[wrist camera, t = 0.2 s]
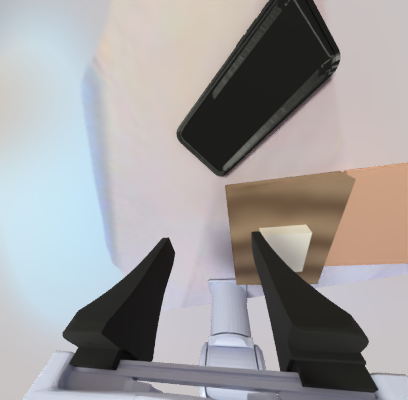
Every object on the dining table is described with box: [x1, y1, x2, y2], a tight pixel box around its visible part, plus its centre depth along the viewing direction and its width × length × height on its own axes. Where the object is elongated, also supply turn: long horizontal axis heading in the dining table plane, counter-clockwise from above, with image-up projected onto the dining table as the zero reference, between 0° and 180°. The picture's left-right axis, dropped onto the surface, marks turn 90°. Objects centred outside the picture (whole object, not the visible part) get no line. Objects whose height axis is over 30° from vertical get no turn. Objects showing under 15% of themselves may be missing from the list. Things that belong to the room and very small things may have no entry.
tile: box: [259, 225, 312, 272], centre depth 21 cm, size 8×6×2 cm
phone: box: [177, 0, 340, 176], centre depth 15 cm, size 8×1×15 cm
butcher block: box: [225, 171, 356, 285], centre depth 23 cm, size 20×14×2 cm
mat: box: [324, 163, 408, 266], centre depth 21 cm, size 18×16×1 cm
